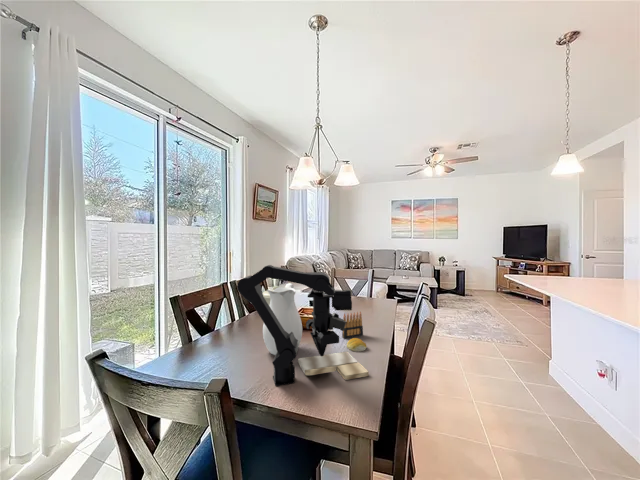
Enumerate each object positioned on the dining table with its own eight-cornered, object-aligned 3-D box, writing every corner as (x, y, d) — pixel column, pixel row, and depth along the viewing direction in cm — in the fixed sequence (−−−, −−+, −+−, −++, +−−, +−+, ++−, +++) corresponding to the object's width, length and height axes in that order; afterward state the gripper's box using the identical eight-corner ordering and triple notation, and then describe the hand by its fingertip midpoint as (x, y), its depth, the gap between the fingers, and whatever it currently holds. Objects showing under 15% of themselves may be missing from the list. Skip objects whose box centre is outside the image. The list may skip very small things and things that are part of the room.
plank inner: (310, 375, 94) (310, 370, 95) (305, 375, 101) (304, 370, 102) (336, 371, 97) (335, 366, 98) (329, 371, 104) (328, 366, 105)
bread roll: (361, 343, 131) (361, 335, 131) (368, 351, 123) (368, 342, 123) (344, 345, 129) (344, 336, 129) (350, 353, 121) (350, 343, 121)
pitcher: (296, 361, 113) (295, 291, 113) (256, 357, 116) (255, 289, 116) (310, 339, 137) (309, 281, 136) (276, 337, 140) (276, 280, 139)
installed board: (304, 374, 102) (304, 369, 102) (298, 362, 112) (298, 358, 112) (357, 365, 109) (357, 361, 109) (347, 355, 118) (347, 351, 118)
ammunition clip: (361, 334, 143) (361, 310, 142) (363, 335, 141) (363, 311, 141) (342, 337, 139) (341, 313, 138) (343, 338, 137) (343, 314, 137)
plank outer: (345, 380, 97) (345, 375, 97) (336, 370, 105) (336, 365, 105) (368, 375, 100) (368, 371, 100) (358, 366, 108) (358, 362, 108)
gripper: (354, 315, 91) (354, 363, 91) (334, 302, 108) (333, 342, 109) (321, 318, 87) (321, 368, 88) (305, 304, 105) (305, 346, 105)
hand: (321, 355), depth 97 cm, fingers closed
